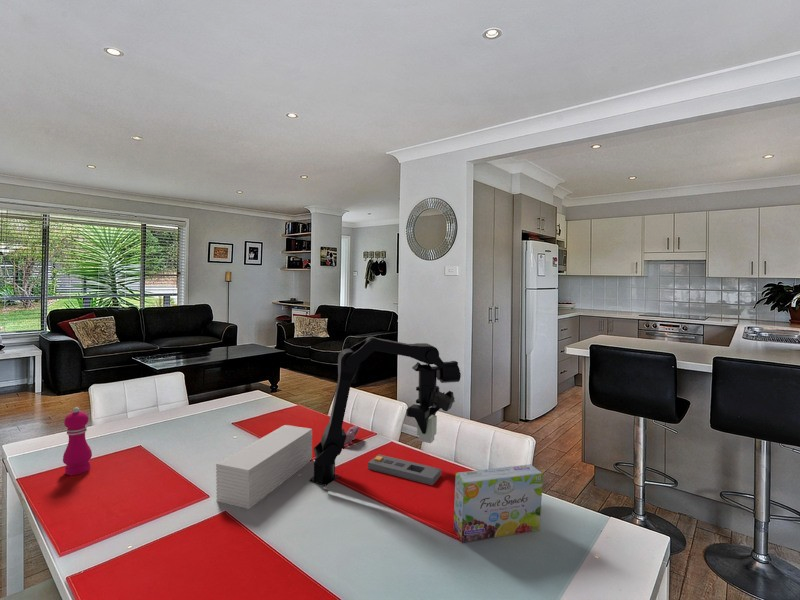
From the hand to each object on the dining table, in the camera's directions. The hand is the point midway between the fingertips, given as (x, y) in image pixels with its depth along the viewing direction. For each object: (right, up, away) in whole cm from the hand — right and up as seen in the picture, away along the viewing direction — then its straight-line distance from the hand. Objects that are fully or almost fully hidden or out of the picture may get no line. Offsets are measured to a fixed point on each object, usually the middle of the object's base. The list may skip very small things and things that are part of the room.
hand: (426, 431), depth 138 cm
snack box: (+15, -15, -32) cm, 39 cm away
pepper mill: (-108, -11, -5) cm, 109 cm away
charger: (0, -3, 0) cm, 3 cm away
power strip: (-7, -12, -4) cm, 15 cm away
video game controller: (-27, -11, +21) cm, 36 cm away
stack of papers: (-48, -12, -8) cm, 51 cm away
